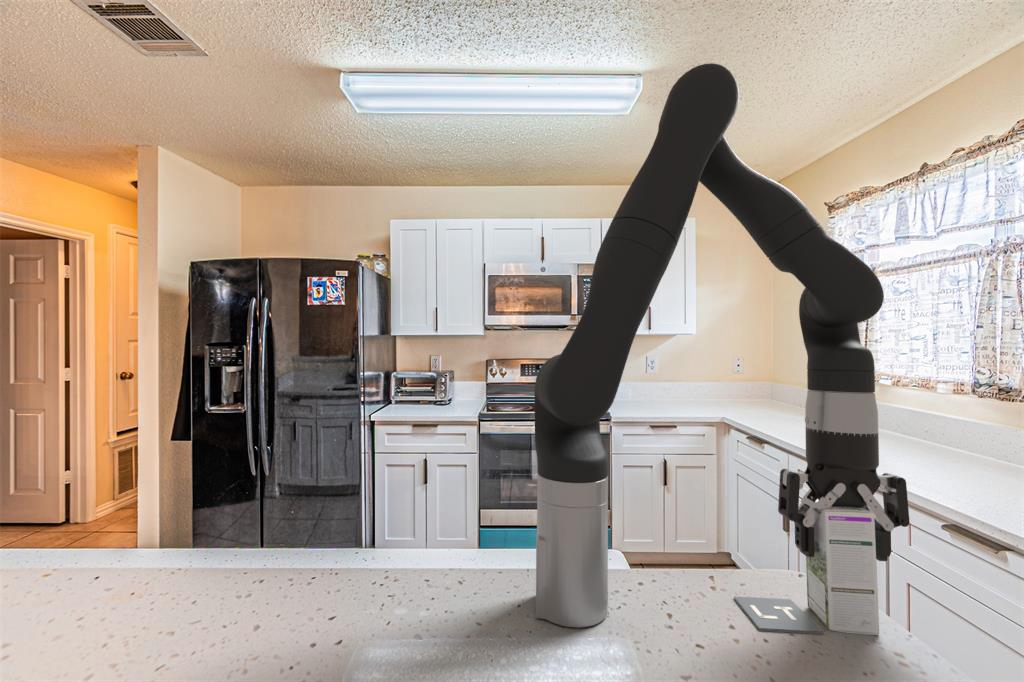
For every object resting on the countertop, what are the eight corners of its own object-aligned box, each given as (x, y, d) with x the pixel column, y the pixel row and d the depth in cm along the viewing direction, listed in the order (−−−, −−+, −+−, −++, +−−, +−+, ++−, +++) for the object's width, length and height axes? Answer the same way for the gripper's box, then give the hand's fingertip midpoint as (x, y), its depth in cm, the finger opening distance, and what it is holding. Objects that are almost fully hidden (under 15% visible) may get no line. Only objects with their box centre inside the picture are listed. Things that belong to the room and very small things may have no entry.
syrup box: (882, 636, 53) (878, 512, 54) (827, 631, 54) (824, 509, 55) (853, 610, 59) (851, 498, 60) (804, 606, 60) (802, 495, 61)
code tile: (759, 630, 54) (759, 627, 54) (733, 598, 62) (733, 595, 62) (823, 634, 54) (823, 631, 54) (790, 601, 61) (790, 598, 61)
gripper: (798, 429, 54) (799, 566, 54) (924, 433, 53) (927, 574, 52) (768, 421, 62) (768, 542, 61) (878, 424, 61) (880, 547, 60)
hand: (842, 556), depth 57 cm, fingers open, 8 cm apart
